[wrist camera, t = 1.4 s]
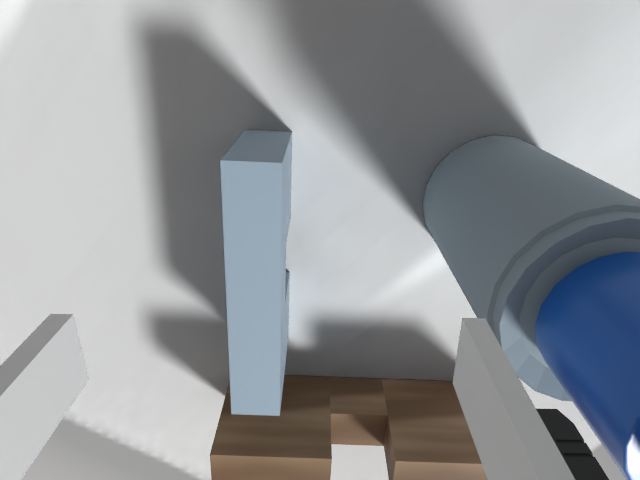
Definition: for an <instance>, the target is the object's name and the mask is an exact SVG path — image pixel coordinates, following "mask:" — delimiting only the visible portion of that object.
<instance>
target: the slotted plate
mask: <svg viewBox="0 0 640 480" xmlns="http://www.w3.org/2000/svg"><path fill="white" fill-rule="evenodd" d="M291 160H292V132H287V131H264V130H244V132H243V133H242V134H241V135H240V137H239V138H238V139H237V140H236V141H235V143H234V144H233V145H232V146H231V148H230V149H229V150H228V151H227V153H226V154H225V155H224V156H223V157H222V159H221V160H220V169H221V191H222V214H223V236H224V259H225V282H226V304H227V327H228V349H229V372H230V395H231V414H240V415H268V416H280V409H281V400H282V391H283V382H284V373H285V364H286V355H287V346H288V327H289V272H286V241H287V235H288V229H289V223H290V216H291Z"/></svg>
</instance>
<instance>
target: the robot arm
mask: <svg viewBox="0 0 640 480" xmlns="http://www.w3.org/2000/svg"><path fill="white" fill-rule="evenodd" d="M88 380H89V376H88V372H87V368H86V364H85V360H84V356H83V352H82V348H81V344H80V340H79V336H78V332H77V328H76V324H75V320H74V316H73V314H50V315H49V316H48V317H47V318H46V319H45V320H44V321H43V322H42V324H41V325H40V326H39V327H38V328H37V329H36V330H35V331H34V332H33V333H32V334H31V335H30V336H29V337H28V338H27V339H26V340H25V341H24V342H23V343H22V344H21V345H20V346H19V347H18V348H17V349H16V350H15V351H14V352H13V353H12V354H11V356H10V357H9V358H8V359H7V360H6V361H5V362H4V363H3V364H2V365H1V366H0V480H21V479H22V477H23V476H24V474H25V473H26V471H27V470H28V469H29V467H30V466H31V464H32V462H33V461H34V460H35V458H36V457H37V455H38V454H39V452H40V451H41V449H42V448H43V446H44V445H45V443H46V442H47V441H48V439H49V438H50V436H51V435H52V433H53V432H54V430H55V429H56V427H57V426H58V424H59V423H60V421H61V420H62V418H63V417H64V415H65V414H66V412H67V411H68V410H69V408H70V407H71V405H72V404H73V402H74V401H75V399H76V398H77V396H78V395H79V393H80V392H81V390H82V389H83V387H84V386H85V384H86V383H87V381H88ZM453 386H454V388H455V391H456V394H457V397H458V399H459V402H460V405H461V408H462V410H463V413H464V416H465V419H466V421H467V424H468V427H469V430H470V432H471V435H472V438H473V441H474V443H475V446H476V449H477V452H478V454H479V457H480V460H481V463H482V465H483V468H484V471H485V474H486V476H487V479H488V480H609V479H608V477H607V476H606V474H605V473H604V471H603V469H602V468H601V466H600V465H599V463H598V462H597V460H596V458H595V457H593V456H592V452H591V450H590V449H589V447H588V446H587V444H586V443H584V439H583V438H582V436H581V435H580V433H579V431H578V430H577V428H576V427H575V425H574V424H573V423H572V422H571V421H570V420H569V419H568V418H567V417H565V416H564V415H563V414H562V413H561V412H560V411H559V410H557V409H536V408H535V407H534V405H533V403H532V401H531V399H530V398H529V396H528V394H527V392H526V390H525V389H524V387H523V385H522V383H521V381H520V380H519V378H518V376H517V374H516V372H515V371H514V369H513V367H512V365H511V364H510V362H509V360H508V358H507V356H506V355H505V353H504V351H503V349H502V347H501V346H500V344H499V342H498V340H497V338H496V337H495V335H494V333H493V331H492V330H491V328H490V326H489V324H488V322H487V321H486V319H485V318H462V324H461V331H460V337H459V344H458V350H457V357H456V363H455V370H454V376H453Z"/></svg>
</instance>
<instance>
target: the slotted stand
mask: <svg viewBox="0 0 640 480" xmlns="http://www.w3.org/2000/svg"><path fill="white" fill-rule="evenodd" d="M331 444H346V445H375V446H384V449H385V456H386V463H387V469H388V476H389V480H488V479H487V476H486V474H485V471H484V468H483V465H482V463H481V460H480V457H479V454H478V452H477V449H476V446H475V443H474V441H473V438H472V435H471V432H470V430H469V427H468V424H467V421H466V419H465V416H464V413H463V410H462V408H461V405H460V402H459V399H458V397H457V394H456V391H455V388H454V386H453V381H432V380H405V379H377V378H349V377H322V376H294V375H284V382H283V391H282V400H281V409H280V416H268V415H240V414H231V395H230V382H229V386H228V389H227V393H226V397H225V401H224V404H223V408H222V412H221V416H220V419H219V423H218V427H217V431H216V434H215V438H214V442H213V446H212V449H211V453H210V462H211V476H212V480H330V474H331V460H332V456H331Z"/></svg>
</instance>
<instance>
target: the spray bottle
mask: <svg viewBox="0 0 640 480" xmlns="http://www.w3.org/2000/svg"><path fill="white" fill-rule="evenodd" d="M423 212H424V218H425V224H426V226H427V228H428V230H429V231H430V233H431V235H432V237H433V239H434V241H435V242H436V244H437V246H438V248H439V250H440V251H441V253H442V255H443V257H444V259H445V260H446V262H447V264H448V266H449V268H450V269H451V271H452V273H453V275H454V277H455V278H456V280H457V282H458V284H459V286H460V287H461V289H462V291H463V293H464V295H465V296H466V298H467V300H468V302H469V304H470V305H471V307H472V309H473V311H474V313H475V314H476V316H477V318H485V319H486V321H487V322H488V324H489V326H490V328H491V330H492V331H493V333H494V335H495V337H496V338H497V340H498V342H499V344H500V346H501V347H502V349H503V351H504V353H505V355H506V356H507V358H508V360H509V362H510V364H511V365H512V367H513V369H514V371H515V372H516V374H517V376H518V378H520V379H521V380H522V381H523V382H525V383H526V384H527V385H528V386H530V387H531V388H532V389H533V390H535V391H537V392H539V393H542V394H545V395H548V396H551V397H553V398H556V399H559V400H563V401H573V403H574V404H575V406H576V407H577V408H578V410H579V411H580V413H581V414H582V416H583V417H584V419H585V420H586V421H587V423H588V424H589V426H590V427H591V429H592V430H593V432H594V433H595V435H596V436H597V437H598V439H599V440H600V442H601V443H602V445H603V446H604V448H605V449H606V450H607V452H608V453H609V455H610V456H611V458H612V459H613V461H614V462H615V464H616V465H617V466H618V468H619V469H620V471H621V472H622V474H623V475H624V477H625V478H626V479H627V480H640V199H638V198H636V197H634V196H632V195H630V194H628V193H626V192H624V191H622V190H620V189H618V188H616V187H614V186H612V185H610V184H608V183H606V182H604V181H603V180H601V179H599V178H597V177H595V176H593V175H591V174H589V173H587V172H585V171H583V170H581V169H579V168H577V167H575V166H573V165H571V164H569V163H567V162H565V161H563V160H561V159H559V158H557V157H555V156H553V155H551V154H549V153H547V152H546V151H544V150H542V149H540V148H538V147H536V146H534V145H532V144H529V143H527V142H525V141H523V140H520V139H518V138H516V137H511V136H498V135H491V136H487V137H483V138H478V139H474V140H471V141H469V142H467V143H465V144H463V145H462V146H460V147H458V148H456V149H455V150H453V151H451V152H450V153H449V154H448V155H447V156H446V157H445V158H444V159H443V160H442V162H441V163H440V164H439V165H438V166H437V167H436V168H435V170H434V172H433V174H432V176H431V178H430V179H429V181H428V183H427V185H426V189H425V195H424V200H423Z"/></svg>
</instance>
